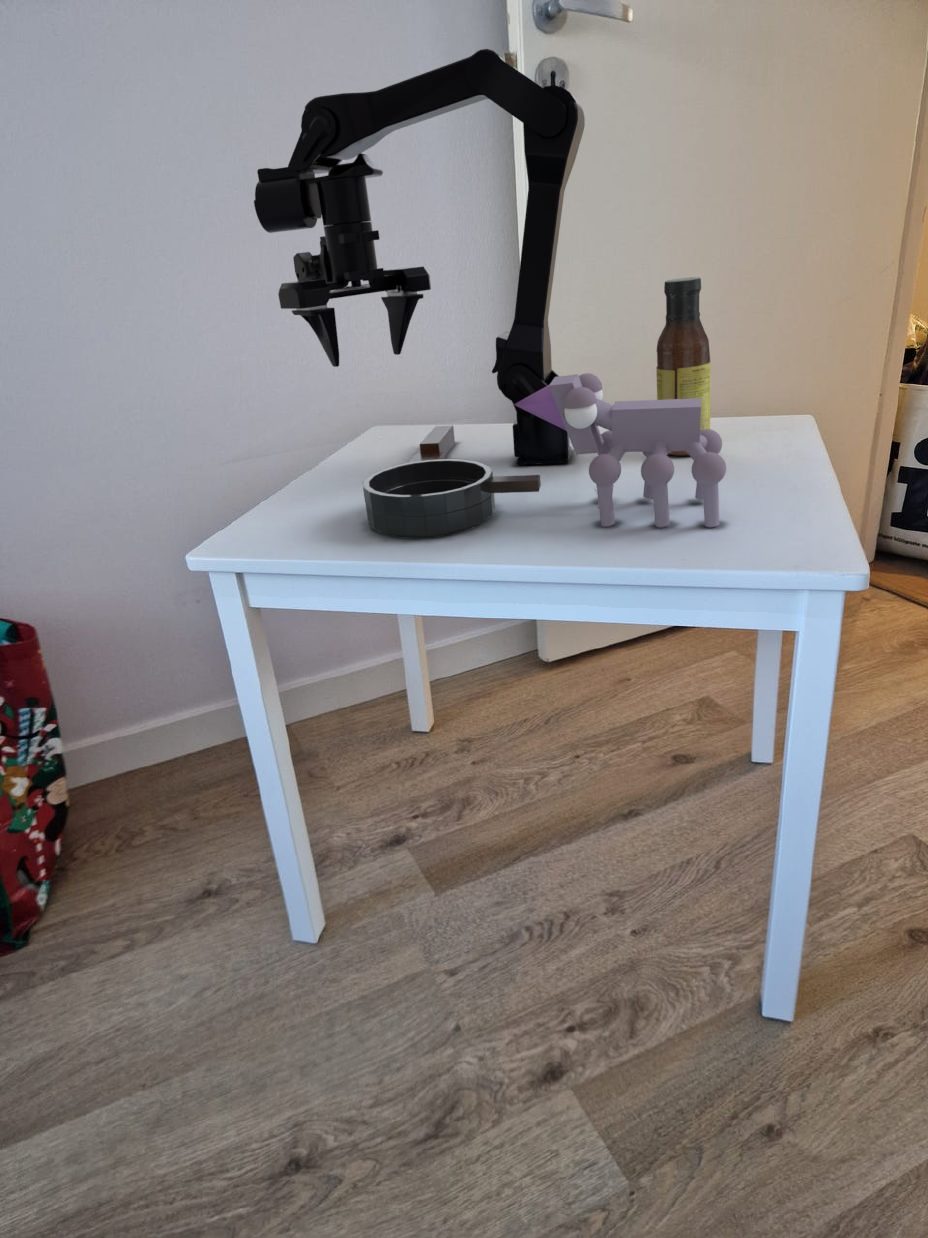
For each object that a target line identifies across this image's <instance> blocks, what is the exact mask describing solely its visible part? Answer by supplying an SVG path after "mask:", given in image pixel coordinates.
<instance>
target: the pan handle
mask: <svg viewBox="0 0 928 1238" xmlns="http://www.w3.org/2000/svg"><path fill="white" fill-rule="evenodd" d="M541 481H542V480H541V474H527V475H525V474H524V475H497V476H496V475H495V476H494V475H493V477H492V479H491V481H490V490H491V493H494V494H506V493H508V494H510V493H538V492H540V489H541V487H542V484H541V483H542V482H541Z"/></svg>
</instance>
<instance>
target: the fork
mask: <svg viewBox="0 0 928 1238" xmlns="http://www.w3.org/2000/svg"><path fill="white" fill-rule="evenodd" d="M454 428H455V427H454V425H436V426H434V427H433V429H432V430H431V431H430V432H428V434H427V435H426V436H425V437H424V438H423V440H422V441H421V442H420V443H419V444H418V445H419V452H415V453H414V454H413V455H412V456H411V457H410V459H408V461H407V462H406V463H411V462H418V461H426V460H439V459H446V456H447V454H448V453H449V452H450V451H451V449H452V448H453V447H454V445H455V444H456V441H455V430H454Z"/></svg>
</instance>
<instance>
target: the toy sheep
mask: <svg viewBox="0 0 928 1238" xmlns="http://www.w3.org/2000/svg"><path fill="white" fill-rule="evenodd" d="M603 395H604V393H603V384H602V381H601V380H600V378H599V377H598V376H597V375H595V374H593V373H589V372H588V373H587V372H586V373H582V374H580V375H579V374H578V373H576V374H569V375H567V374H566V375H559V376H558V377H555V378H554V379H553V381H552V382H551V383H550V385H548V386H546V387H544V388H543V389H541V390H539V391H537V392H535V393H534V394H532V395H530V396H528V397H526V398H525V399H523V400H521V401H519V402H518V403H516V404H514V405H515V406H517V407H519V408H521V409H523V410H525V411H528V412H530V413H532V414H534V415H536V416H538V417H540V418H542V419H544V420H546V421H548V422H550V423H552V424H554V425H556V426H558V427H560V428H562V429H564V430H566V431H567V433H568V435H569V440H570V443H571V445H572V446H571V447H572V448H573V450H574V453H575V455H576V456H578V455H589V454H590V455H591V454H597V456H595V457H594V458H593V459H592V460H591V461H590V464H589V466H588V475H589V478H590V480H591V481H592V482H593V483H594V485H595V486H596V489H595V488H594V487H593V489H594V491H595V492H596V495H597V502H598V505H596V507H597V508H598V510H599V521H600V525H601V527H604V528H607V527H611V526H613V525H614V524H615V523H616V520H615V509H614V501H613V497H614V495H613V494H614V484H616V482H618V480H619V479H620V477H621V474H622V466H621V460H622V459H623V457H624V455H625V454H626V453H642V454H643V456H645V459H644V460H643V462H642V464H641V466H640V475H641V478H642V480H643V493H642V494H643V495H642V497H643V498H645V499H648V500H653V501H652V502H653V512H654V525H655V527H656V528H666V527H668V526H670V523H671V519H670V505H669V488H668V483H669V482H670V481H671V480H672V479H673V477H674V474H675V465H674V462H673V461H672V459H671V458H670V456H668V455H669V454H668V453H669V452H670V451H687V452H688V454H689V455H688V456H690V458H691V459H692V461H693V462H692V465H691V470H690V471H691V475H692V478H693V479H694V481H695V482H696V485H695V495H694V498H695V499H697V500H702V501H703V519H704V520H703V521H704V526H705V527H706V528H715V527H717V526H720V498H719V497H720V496H719V495H720V494H719V493H720V492H719V483H720V482H721V481H722V480H723V479H724V477H725V476H726V472H727V465H726V462H725V461H726V460H725V459H724V458H723V457H722V456H721V455H720V452H721V450H722V449H723V439H722V437H721V435H720V433H718V432H717V431H716V430H714V429H711V428H710V429H703V430H700V426H701V402H702V398H695V399H667V400H657V399H643V400H642V399H639V400H616V401H614V403H613V404H612V403H610V402H607V401H605V400H603V398H604V397H603ZM514 405H513V406H514ZM599 427H600V428H602V429H605V430H606V431H604V432H602V433H601V431H600V428H599Z"/></svg>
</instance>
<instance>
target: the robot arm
mask: <svg viewBox="0 0 928 1238" xmlns="http://www.w3.org/2000/svg"><path fill="white" fill-rule="evenodd" d="M484 100H490V101H492V102H493V103H494V104H495V105H497V106H498V107H500V108H501V109H502V110H504V111H506V112H507V113H508V114H509V115H511V116H513V118H515V119H517V120H518V121H520V122H521V123H522V124H523V125H522V126H523V127H522V128H523V147H524V148H523V149H524V151H523V152H524V160H525V168H526V176H527V186H528V187H527V199H526V207H525V217H524V227H523V236H522V245H521V253H520V262H519V271H518V272H519V273H518V279H517V280H518V281H517V290H516V299H515V309H514V317H513V322H512V325H511V328H510V331H508V330H505V331H503V332H502V333H501V334H499V335H498V336H497V337H496V338H495V363H494V366H493V367H492V368H493V369H492V370H491V373H492V374H496V373H497V374H496V385H497V388H498V390H499V391H500V392H501V393H502V395H503V396H504V397H505V398H507V399H508V400H509V401H511V403H512V405H513V407H514V410H515V412H516V413H515V414H516V420H515V421H514V422H513V424H512V441H513V456H514V457H515V458H517V459H516V465H518V466H521V465H522V466H523V465H548V464H549V465H550V464H551V465H553V464H569V462H570V460H571V459H570V458H571V455H572V446H570V445H571V444H570V443H571V441H570V438H569V435H568V433H567V431H566V430H564V429H562V428H560V427H558V426H556V425H554V424H552V423H550V422H548V421H546V420H544V419H542V418H540V417H538V416H536V415H534V414H532V413H530V412H528V411H525V410H523V409H521V408H519V407H517V406H515V405H514V404H516V403H518V402H519V401H521V400H523V399H525V398H526V397H528V396H530V395H532V394H534V393H535V392H537V391H539V390H541V389H543V388H544V387H546V386H548V385H550V383H551V382H552V381H553V379H554V378H555V377H558V376H560V375H559V374H557V372H555V371H554V369H553V367H552V344H551V335H550V334H551V333H550V327H549V315H550V314H549V313H550V307H551V299H552V292H553V282H554V275H555V268H556V260H557V252H558V245H559V235H560V229H561V220H562V213H563V204H564V197H565V191H566V187H567V184H568V182H569V180H570V176H571V173H572V171H573V167H574V164H575V162H576V158H577V156H578V151H579V149H580V145H581V142H582V138H583V134H584V131H585V126H586V125H585V124H586V123H585V122H586V121H585V120H586V119H585V118H586V117H585V113H584V110H583V107H582V105H581V104H580V103H579V101H578V99H577V98H575V96H574V95H573V94H572V93H571V92H570V91H568V90H567V89H566V88H565V87H563V86H559V85H556V84H554V85H553V84H552V85H546V86H544V87H542V86H541V85H539V84H538V83H536V82H535V81H534V80H532V79H531V78H529V77H528V76H526V75H525V74H524V73H522V72H520V71H519V70H517V68H515V67H513V66H512V65H510V64H509V63H507V62H506V60H504V58H503V57H501V56H500V55H499V54H498V53H497V52H495V51H494V50H492V49H489V48H483V49H479V50H477V51H475V53H473V54H472V55H470V56H468V57H465V58H462V59H460V60H457V61H454V62H451V63H449V64H446V65H443V66H440V67H438V68H435V69H432V70H430V71H427V72H424V73H420V74H418V75H416V76H413V77H410V78H407V79H404V80H402V81H399V82H397V83H394V84H391V85H387V86H385V87H383V88H380V89H377V90H373V91H372V90H371V91H363V92H362V91H361V92H343V93H342V92H341V93H335V94H328V95H327V94H326V95H320V96H316V97H313V98H312V99H311V100H309V101H308V102H307V103H306V104H305V106H304V109H303V112H302V115H301V120H300V122H301V123H300V129H301V131H300V134H299V136H298V139H297V141H296V144H295V147H294V150H293V152H292V155H291V157H290V160H289V162H288V164H287V166H285V167H284V166H283V167H278V168H277V167H276V168H273V167H263V168H258V169H257V171H256V172H257V173H256V174H257V177H258V181H257V182H256V185H255V190H254V200H253V203H254V204H253V205H254V210H255V214H256V217H257V220H258V222H259V224H260V226H261V227H262V228H263V230H264V231H265V232H267V233H269V234H274V233H281V232H282V233H283V232H290V231H291V232H292V231H299V230H307V229H313V228H315V227H316V225H317V222H318V219H322V225H323V231H324V236H319V239H320V240H319V247H320V248H319V249H320V250H319V251H320V253H319V254H313V253H311V252H310V251H305V252H304V251H303V252H297V253H295V255H293V257H292V258H293V266H294V267H293V268H294V273H295V276H296V279H297V280H296V281H289V282H282V283H281V284H280V287H279V289H278V293H277V295H278V300H279V306H280V309H282V310H284V309H286V310H287V309H291V313H292V315H293V316H300V317H301V318H302V319H304V321H306V322H307V324H308V325H309V326H310V327H311V329H312V331H313V332H314V334H315V336H316V337H317V339H318V341H319V343H320V345H321V347H322V349H323V350H324V353H325V354H326V356H327V358H328V360H329V362H330V364H331V365H332V367H334V368H337V367H339V366H340V349H339V340H338V339H339V337H338V330H337V321H336V320H337V319H336V311H335V307H328V302H329V301H330V300H332V299H339V298H340V299H341V298H346V297H354V296H360V295H367V294H368V295H369V294H374V293H381V292H386V296H381V297H380V298H381V301H382V302H383V304H384V306H385V309H386V311H387V316H388V317H387V318H388V325H389V326H388V327H389V335H390V342H391V348H392V352H393V355H396V356H399V355H401V354H402V350H403V347H404V343H405V340H406V336H407V333H408V329H409V327H410V323H411V320H412V318H413V316H414V312H415V310H416V308H417V305H418V302H419V300H421V299H424V293H418V292H424V291H430V290H432V284H431V275H430V274H429V272H428V271H427V269H426V268H425V266H409V267H399V268H390V269H384V267H378V262H377V261H378V260H377V255H376V246H375V241H380V233H379V230H377V229H376V230H373V223H372V217H371V215H372V214H371V209H370V201H369V195H368V185H367V179H370V178H378V177H382V176H383V173H384V172H383V169H382V168H380V167H379V166H378V165H376V164H375V163H374V162H373V161H372V159H370V157H369V155H368V154H366V153H364V152H366V151H368V150H369V149H371V148H372V147H374V146H375V145H377V144H378V143H380V141H381V140H382V139H384V138H385V137H386V136H388V135H389V134H391V133H394V132H395V131H397V130H401V129H403V128H407V127H409V126H412V125H416V124H418V123H420V122H423V121H427V120H429V119H433V118H435V117H438V116H441V115H444V114H447V113H450V112H453V111H456V110H458V109H459V110H460V109H462V108H464V107H467V106H471V105H474V104H477V103H478V102H481V101H484ZM355 157H356V158H355ZM354 158H355V159H354ZM352 159H354V161H352V162H347V163H346V162H345V163H341V162H343V161H346V160H347V161H348V160H352ZM327 173H328V174H327ZM316 174H317V175H320V174H321V175H322V174H327V175H322V176H317V177H316V176H315V175H316ZM362 282H367V283H362ZM349 283H350V285H349Z"/></svg>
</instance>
